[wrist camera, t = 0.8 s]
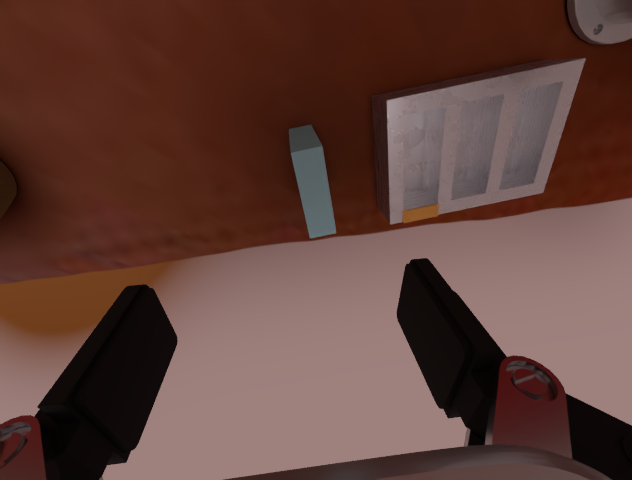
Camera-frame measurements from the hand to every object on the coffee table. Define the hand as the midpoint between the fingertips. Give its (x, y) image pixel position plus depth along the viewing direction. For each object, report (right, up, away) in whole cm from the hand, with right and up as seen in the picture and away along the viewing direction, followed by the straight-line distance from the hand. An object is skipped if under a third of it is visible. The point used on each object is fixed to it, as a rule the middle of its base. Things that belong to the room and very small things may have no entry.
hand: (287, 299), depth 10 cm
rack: (+17, +14, +21) cm, 30 cm away
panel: (0, +11, +21) cm, 24 cm away
